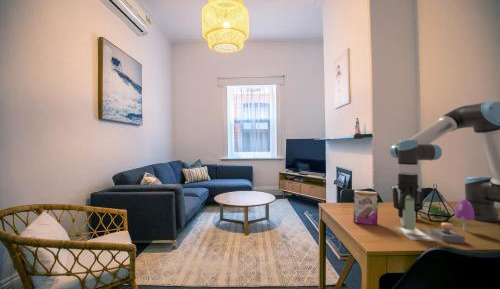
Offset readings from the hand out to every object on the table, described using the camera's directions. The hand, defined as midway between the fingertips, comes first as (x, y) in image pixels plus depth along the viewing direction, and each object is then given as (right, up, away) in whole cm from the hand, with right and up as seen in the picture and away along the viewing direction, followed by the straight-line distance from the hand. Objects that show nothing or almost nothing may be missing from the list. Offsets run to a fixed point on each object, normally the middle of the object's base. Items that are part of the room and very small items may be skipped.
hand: (407, 224), depth 105 cm
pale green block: (0, -2, 0) cm, 2 cm away
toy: (+29, -5, +3) cm, 29 cm away
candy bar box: (-12, -5, +15) cm, 20 cm away
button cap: (+13, -2, -6) cm, 14 cm away
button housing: (+13, -4, -6) cm, 15 cm away
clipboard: (+7, -4, -1) cm, 8 cm away
